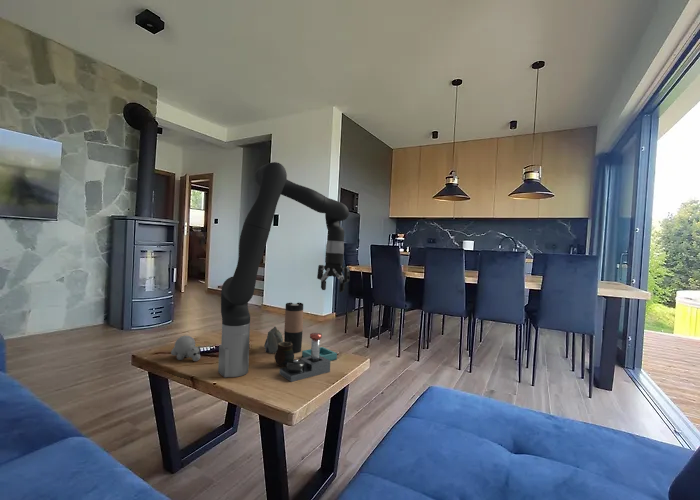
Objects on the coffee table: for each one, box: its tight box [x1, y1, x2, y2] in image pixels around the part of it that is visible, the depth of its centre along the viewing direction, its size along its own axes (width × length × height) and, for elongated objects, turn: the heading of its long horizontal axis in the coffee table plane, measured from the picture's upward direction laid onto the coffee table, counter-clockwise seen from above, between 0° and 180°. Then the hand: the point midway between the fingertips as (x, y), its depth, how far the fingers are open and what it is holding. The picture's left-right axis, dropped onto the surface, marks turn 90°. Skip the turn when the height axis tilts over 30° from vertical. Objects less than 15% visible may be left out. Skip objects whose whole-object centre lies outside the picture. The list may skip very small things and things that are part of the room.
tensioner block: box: [278, 355, 331, 383], centre depth 119 cm, size 16×8×5 cm, turn 130°
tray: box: [301, 346, 338, 362], centre depth 135 cm, size 10×10×2 cm
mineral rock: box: [263, 326, 284, 354], centre depth 145 cm, size 13×11×10 cm
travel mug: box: [283, 302, 304, 354], centre depth 143 cm, size 8×8×20 cm
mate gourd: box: [274, 341, 295, 368], centre depth 126 cm, size 7×8×10 cm
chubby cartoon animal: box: [170, 335, 201, 362], centre depth 128 cm, size 7×12×8 cm, turn 65°
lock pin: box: [309, 332, 323, 363], centre depth 122 cm, size 4×4×13 cm
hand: (332, 291), depth 140 cm, fingers open, 8 cm apart
